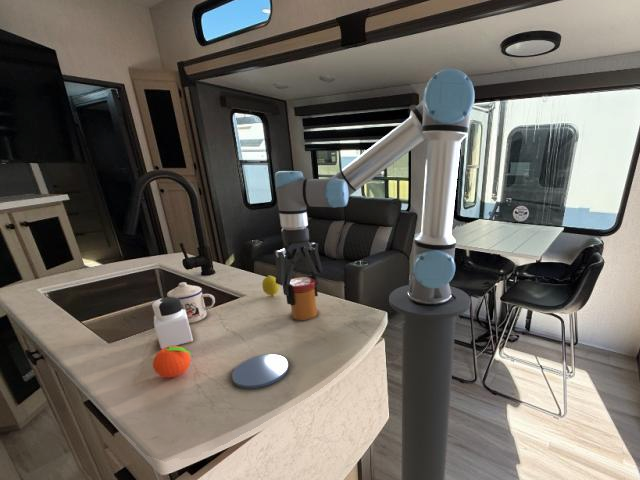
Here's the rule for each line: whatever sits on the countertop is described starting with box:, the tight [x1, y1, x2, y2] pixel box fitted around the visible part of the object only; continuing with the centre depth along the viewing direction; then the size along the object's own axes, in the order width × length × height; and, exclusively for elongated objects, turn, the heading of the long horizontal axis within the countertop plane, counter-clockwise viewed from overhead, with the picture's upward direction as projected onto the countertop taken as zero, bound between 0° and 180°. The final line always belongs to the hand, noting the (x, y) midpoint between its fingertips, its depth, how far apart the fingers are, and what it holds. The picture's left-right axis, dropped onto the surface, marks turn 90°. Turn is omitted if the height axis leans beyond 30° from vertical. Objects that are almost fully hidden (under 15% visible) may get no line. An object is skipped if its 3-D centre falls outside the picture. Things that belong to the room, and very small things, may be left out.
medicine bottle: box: [151, 296, 194, 350], centre depth 85 cm, size 7×7×12 cm
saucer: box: [231, 353, 289, 390], centre depth 73 cm, size 12×12×1 cm
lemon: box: [261, 274, 280, 297], centre depth 115 cm, size 6×6×8 cm
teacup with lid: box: [166, 281, 216, 324], centre depth 98 cm, size 12×9×12 cm
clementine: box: [152, 345, 192, 378], centre depth 71 cm, size 8×7×7 cm
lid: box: [290, 276, 315, 292], centre depth 98 cm, size 8×8×2 cm
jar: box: [290, 288, 318, 321], centre depth 100 cm, size 8×8×11 cm
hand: (303, 299), depth 100 cm, fingers closed on lid, 8 cm apart
